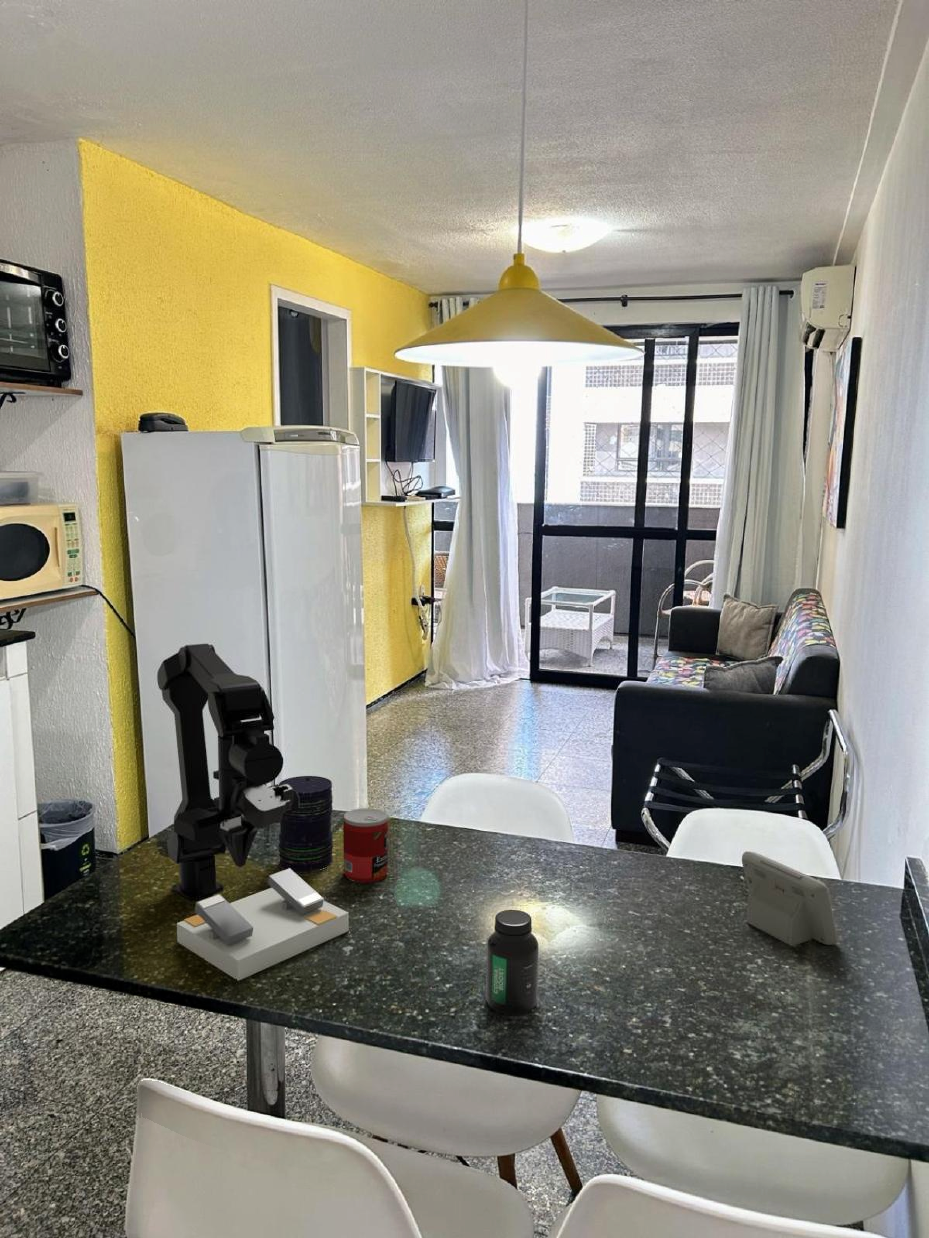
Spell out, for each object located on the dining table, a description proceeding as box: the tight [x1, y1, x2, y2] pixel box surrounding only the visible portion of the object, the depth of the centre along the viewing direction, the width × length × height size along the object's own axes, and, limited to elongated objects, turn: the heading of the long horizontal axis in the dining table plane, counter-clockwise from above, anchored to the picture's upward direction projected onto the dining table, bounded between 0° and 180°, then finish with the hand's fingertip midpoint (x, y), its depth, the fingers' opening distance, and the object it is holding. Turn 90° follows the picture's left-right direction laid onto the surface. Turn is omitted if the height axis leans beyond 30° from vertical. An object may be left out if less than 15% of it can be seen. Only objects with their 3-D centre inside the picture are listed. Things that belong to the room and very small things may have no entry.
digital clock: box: [741, 850, 838, 947], centre depth 141 cm, size 16×9×11 cm, turn 19°
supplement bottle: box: [485, 909, 540, 1016], centre depth 119 cm, size 7×7×12 cm
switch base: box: [176, 887, 350, 981], centre depth 137 cm, size 16×20×4 cm
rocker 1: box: [194, 893, 253, 946], centre depth 131 cm, size 9×4×2 cm, turn 47°
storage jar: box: [278, 775, 334, 874], centre depth 164 cm, size 10×10×15 cm
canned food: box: [342, 807, 389, 884], centre depth 159 cm, size 8×8×11 cm
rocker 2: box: [267, 868, 325, 915], centre depth 141 cm, size 9×4×2 cm, turn 47°
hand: (240, 865), depth 134 cm, fingers closed
